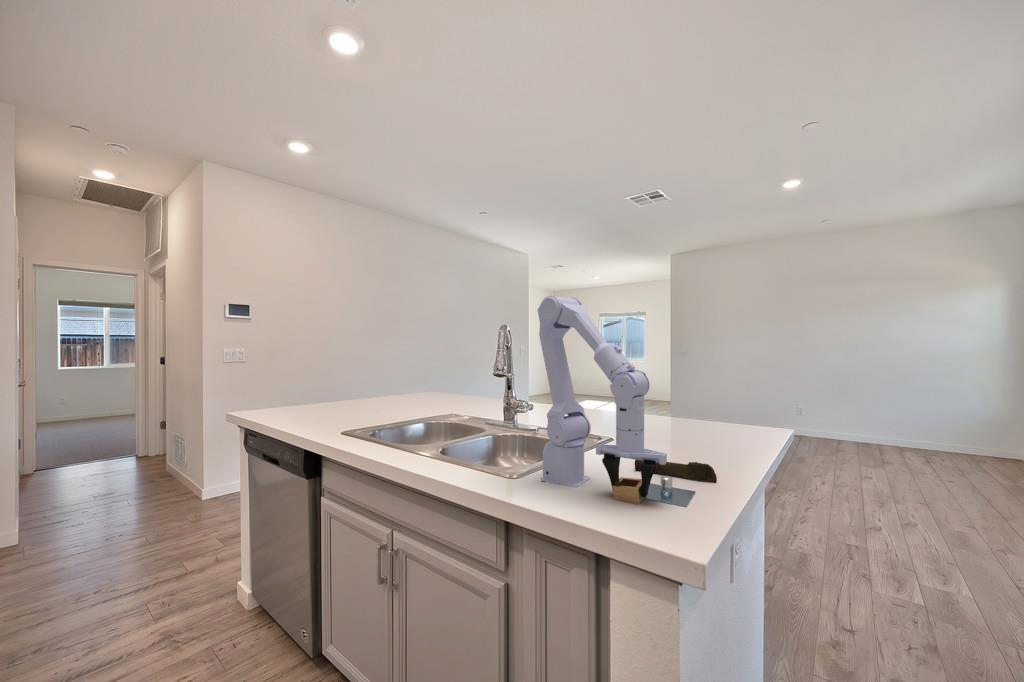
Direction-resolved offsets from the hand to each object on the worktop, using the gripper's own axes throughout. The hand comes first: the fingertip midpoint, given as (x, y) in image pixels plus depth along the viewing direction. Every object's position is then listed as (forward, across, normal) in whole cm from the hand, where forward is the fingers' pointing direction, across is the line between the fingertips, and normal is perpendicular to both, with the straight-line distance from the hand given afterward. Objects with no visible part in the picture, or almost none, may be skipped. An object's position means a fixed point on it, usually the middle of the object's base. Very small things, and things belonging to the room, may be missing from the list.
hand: (629, 493), depth 91 cm
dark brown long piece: (+2, +4, +21) cm, 22 cm away
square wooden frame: (+1, 0, 0) cm, 1 cm away
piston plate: (+1, +6, +6) cm, 9 cm away
